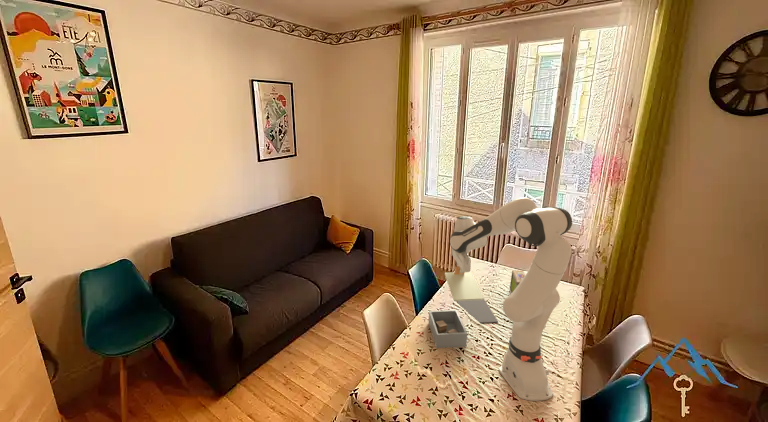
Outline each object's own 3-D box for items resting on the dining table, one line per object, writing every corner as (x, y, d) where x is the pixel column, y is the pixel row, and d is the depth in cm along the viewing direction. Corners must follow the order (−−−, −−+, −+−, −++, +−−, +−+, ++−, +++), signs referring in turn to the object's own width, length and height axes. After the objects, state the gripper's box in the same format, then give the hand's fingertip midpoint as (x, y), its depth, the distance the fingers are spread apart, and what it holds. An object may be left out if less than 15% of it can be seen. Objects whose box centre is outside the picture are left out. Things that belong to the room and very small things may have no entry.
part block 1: (446, 331, 166) (447, 325, 164) (439, 333, 164) (439, 326, 163) (442, 327, 169) (443, 320, 168) (435, 328, 168) (435, 321, 167)
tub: (466, 347, 156) (467, 333, 154) (436, 349, 155) (437, 334, 153) (455, 323, 173) (456, 309, 171) (428, 324, 172) (429, 311, 170)
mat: (497, 322, 174) (498, 321, 174) (467, 323, 173) (467, 322, 173) (484, 300, 193) (484, 299, 193) (456, 301, 192) (456, 300, 192)
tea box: (531, 307, 186) (535, 284, 182) (512, 305, 188) (516, 282, 184) (526, 292, 200) (530, 270, 196) (508, 291, 202) (511, 269, 198)
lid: (483, 301, 161) (485, 292, 157) (453, 302, 160) (455, 293, 156) (471, 274, 176) (473, 265, 173) (444, 275, 175) (445, 266, 172)
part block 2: (458, 341, 160) (459, 333, 158) (451, 343, 158) (452, 336, 157) (453, 335, 163) (454, 328, 162) (446, 338, 161) (447, 331, 160)
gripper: (475, 255, 159) (472, 281, 163) (462, 238, 178) (460, 262, 183) (462, 256, 158) (459, 282, 163) (450, 238, 178) (448, 262, 182)
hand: (459, 271), depth 173 cm, fingers closed on lid
